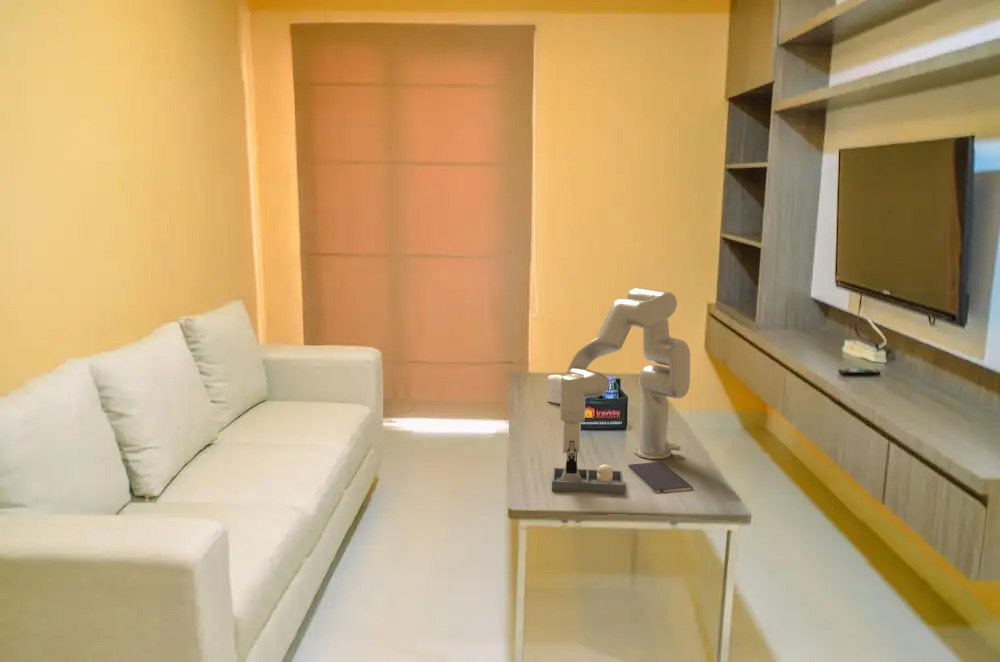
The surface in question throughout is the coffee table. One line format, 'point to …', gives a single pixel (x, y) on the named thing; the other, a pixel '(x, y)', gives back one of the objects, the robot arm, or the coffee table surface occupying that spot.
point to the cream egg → (604, 474)
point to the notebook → (659, 477)
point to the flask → (571, 476)
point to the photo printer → (554, 389)
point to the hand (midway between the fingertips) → (571, 466)
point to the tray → (588, 482)
